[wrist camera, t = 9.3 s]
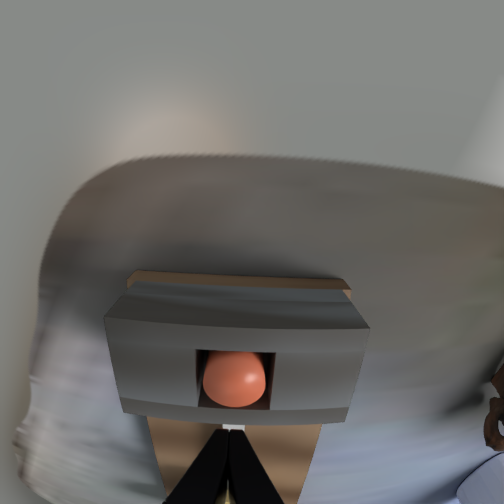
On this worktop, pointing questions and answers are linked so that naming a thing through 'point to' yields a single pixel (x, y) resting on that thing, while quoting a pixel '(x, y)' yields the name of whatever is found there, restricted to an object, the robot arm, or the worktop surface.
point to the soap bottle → (484, 484)
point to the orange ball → (234, 377)
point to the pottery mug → (495, 414)
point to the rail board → (245, 340)
